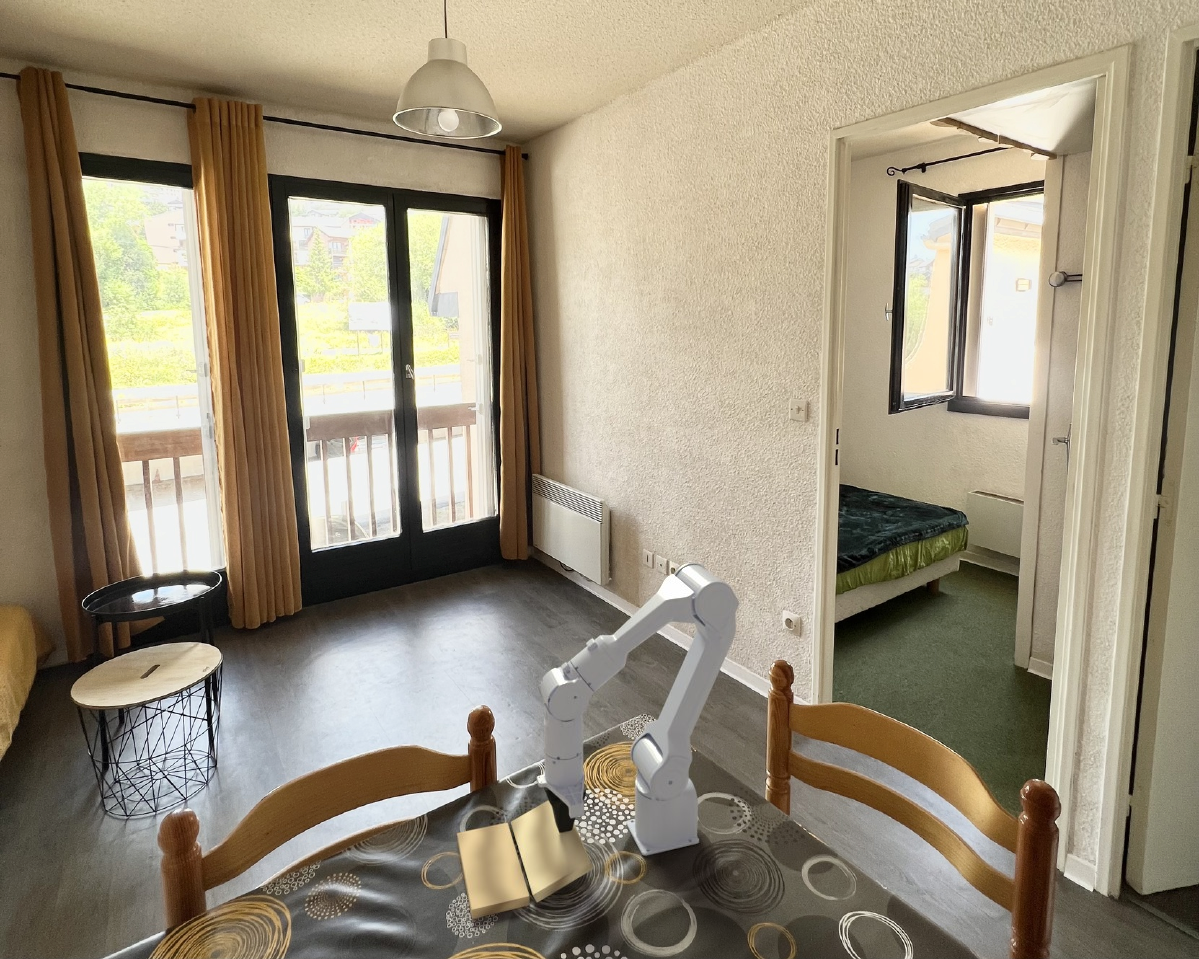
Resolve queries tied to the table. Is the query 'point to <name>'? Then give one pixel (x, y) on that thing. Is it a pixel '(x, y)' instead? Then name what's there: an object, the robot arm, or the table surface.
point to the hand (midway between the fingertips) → (564, 828)
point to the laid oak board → (491, 870)
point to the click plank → (549, 851)
